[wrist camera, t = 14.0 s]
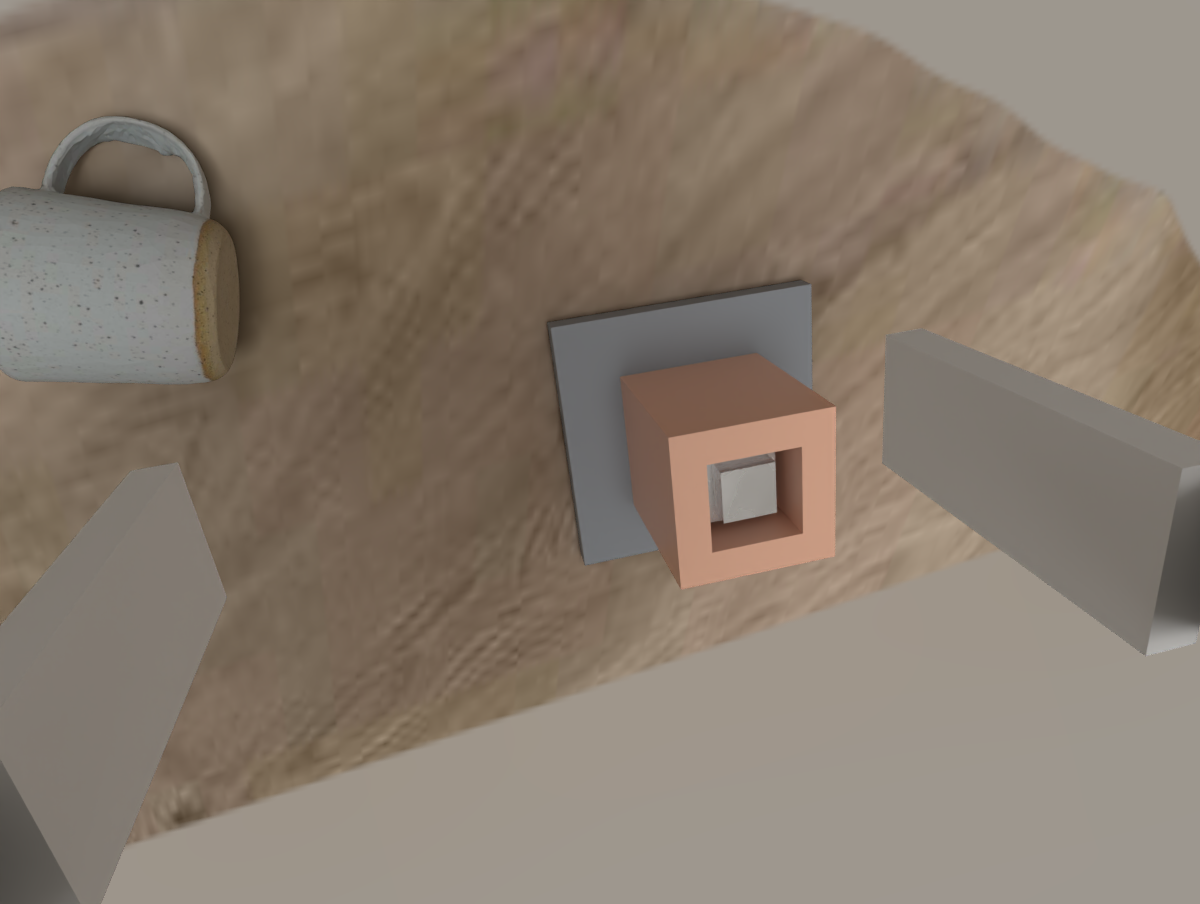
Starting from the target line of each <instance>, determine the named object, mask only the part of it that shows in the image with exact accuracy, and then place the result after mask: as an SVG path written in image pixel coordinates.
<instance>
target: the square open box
mask: <svg viewBox="0 0 1200 904" xmlns="http://www.w3.org/2000/svg"><path fill="white" fill-rule="evenodd" d="M620 382H621V391H622V400H623V410H624V419H625V428H626V438H627V447H628V456H629V465H630V475H631V484H632V493H633V503H634V506H635V508H636V510H637V512H638V513H639V515H640V517H641V519H642V521H643V522H644V524H645V526H646V528H647V529H648V531H649V533H650V535H651V537H652V538H653V540H654V542H655V544H656V546H657V547H658V549H659V551H660V553H661V554H662V556H663V558H664V560H665V562H666V563H667V565H668V567H669V569H670V571H671V572H672V574H673V576H674V578H675V579H676V581H677V583H678V585H679V587H680V588H681V590H682V589H686V588H691V587H695V586H700V585H705V584H709V583H714V582H719V581H723V580H728V579H732V578H737V577H742V576H746V575H751V574H755V573H760V572H765V571H769V570H774V569H778V568H783V567H788V566H792V565H797V564H802V563H806V562H811V561H815V560H820V559H825V558H829V557H834V556H835V486H836V406H835V405H833V404H832V403H830V402H829V401H827V400H826V399H824V398H823V397H821V396H820V395H818V394H817V393H815V392H814V391H813V390H811V389H810V388H808V387H807V386H805V385H804V384H802V383H801V382H799V381H798V380H796V379H795V378H793V377H792V376H790V375H789V374H787V373H786V372H784V371H783V370H782V369H780V368H779V367H777V366H776V365H774V364H773V363H771V362H770V361H768V360H767V359H765V358H764V357H762V356H761V355H759V354H758V353H753V354H747V355H742V356H736V357H730V358H724V359H719V360H713V361H707V362H702V363H696V364H690V365H684V366H679V367H673V368H667V369H661V370H656V371H650V372H644V373H639V374H633V375H627V376H621V377H620ZM772 452H775V467H776V499H777V513H772V514H767V515H763V516H758V517H753V518H748V519H744V520H739V521H734V522H729V523H725V524H724V523H723V522H722V521H721V520H720V521H715V522H710V508H709V492H708V477H707V465H710V464H715V463H721V462H726V461H731V460H736V459H741V458H746V457H752V456H757V455H762V454H767V453H772Z"/></svg>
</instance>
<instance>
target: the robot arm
mask: <svg viewBox="0 0 1200 904" xmlns="http://www.w3.org/2000/svg"><path fill="white" fill-rule="evenodd" d="M882 463H883V464H884V465H885V466H887V467H888V468H890V469H891V470H892V471H894V472H895V473H896V474H898V475H899V476H900V477H902V478H903V479H905V480H906V481H907V482H909V483H910V484H911V485H913V486H914V487H915V488H917V489H918V490H920V491H921V492H922V493H924V494H925V495H926V496H928V497H929V498H931V499H932V500H933V501H935V502H936V503H937V504H939V505H940V506H941V507H943V508H944V509H946V510H947V511H948V512H950V513H951V514H952V515H954V516H955V517H956V518H958V519H959V520H961V521H962V522H963V523H965V524H966V525H967V526H969V527H970V528H971V529H973V530H974V531H976V532H977V533H978V534H980V535H981V536H982V537H984V538H985V539H986V540H988V541H989V542H991V543H992V544H993V545H995V546H996V547H997V548H999V549H1000V550H1001V551H1003V552H1004V553H1006V554H1007V555H1008V556H1010V557H1011V558H1012V559H1014V560H1015V561H1017V562H1018V563H1019V564H1021V565H1022V566H1023V567H1025V568H1026V569H1027V570H1029V571H1030V572H1032V573H1033V574H1034V575H1036V576H1037V577H1038V578H1040V579H1041V580H1042V581H1044V582H1045V583H1047V584H1048V585H1049V586H1051V587H1052V588H1053V589H1055V590H1056V591H1057V592H1059V593H1060V594H1062V595H1063V596H1064V597H1066V598H1067V599H1068V600H1070V601H1071V602H1073V603H1074V604H1075V605H1077V606H1078V607H1079V608H1081V609H1082V610H1084V611H1085V612H1086V613H1088V614H1089V615H1090V616H1092V617H1093V618H1094V619H1096V620H1097V621H1099V622H1100V623H1101V624H1102V625H1104V626H1105V627H1107V628H1108V629H1109V630H1111V631H1112V632H1114V633H1115V634H1116V635H1118V636H1119V637H1120V638H1122V639H1123V640H1124V641H1126V642H1127V643H1129V644H1130V645H1131V646H1133V647H1134V648H1135V649H1137V650H1138V651H1140V652H1141V653H1142V654H1143V655H1145V656H1148V655H1152V654H1156V653H1160V652H1163V651H1168V650H1171V649H1175V648H1179V647H1183V646H1187V645H1191V644H1195V643H1196V640H1197V636H1198V631H1199V626H1200V441H1199V440H1196V439H1194V438H1191V437H1189V436H1186V435H1184V434H1181V433H1179V432H1176V431H1174V430H1171V429H1169V428H1167V427H1164V426H1162V425H1159V424H1157V423H1154V422H1152V421H1149V420H1147V419H1144V418H1142V417H1139V416H1137V415H1134V414H1132V413H1130V412H1127V411H1125V410H1122V409H1120V408H1117V407H1115V406H1112V405H1110V404H1107V403H1105V402H1102V401H1100V400H1097V399H1095V398H1093V397H1090V396H1088V395H1085V394H1083V393H1080V392H1078V391H1075V390H1073V389H1070V388H1068V387H1065V386H1063V385H1060V384H1058V383H1055V382H1053V381H1051V380H1048V379H1046V378H1043V377H1041V376H1038V375H1036V374H1033V373H1031V372H1028V371H1026V370H1023V369H1021V368H1018V367H1016V366H1014V365H1011V364H1009V363H1006V362H1004V361H1001V360H999V359H996V358H994V357H991V356H989V355H986V354H984V353H981V352H979V351H977V350H974V349H972V348H969V347H967V346H964V345H962V344H959V343H957V342H954V341H952V340H949V339H947V338H944V337H942V336H940V335H937V334H935V333H932V332H930V331H927V330H925V329H922V328H921V329H916V330H910V331H905V332H899V333H894V334H888V335H886V351H885V386H884V422H883V457H882ZM226 599H227V596H226V593H225V591H224V588H223V585H222V582H221V580H220V577H219V574H218V571H217V569H216V566H215V563H214V560H213V558H212V555H211V552H210V549H209V547H208V544H207V541H206V538H205V536H204V533H203V530H202V527H201V525H200V522H199V519H198V516H197V514H196V511H195V508H194V505H193V503H192V500H191V497H190V494H189V492H188V489H187V486H186V483H185V481H184V478H183V475H182V472H181V470H180V467H179V464H178V462H177V463H172V464H166V465H161V466H155V467H150V468H144V469H138V470H133V471H130V472H129V473H128V475H127V476H126V477H125V478H124V479H123V480H122V482H121V483H120V484H119V485H118V486H117V488H116V489H115V490H114V491H113V492H112V494H111V495H110V496H109V497H108V498H107V500H106V501H105V502H104V503H103V504H102V505H101V507H100V508H99V509H98V510H97V511H96V513H95V514H94V515H93V516H92V517H91V519H90V520H89V521H88V522H87V523H86V524H85V526H84V527H83V528H82V529H81V530H80V532H79V533H78V534H77V535H76V536H75V538H74V539H73V540H72V541H71V542H70V544H69V545H68V546H67V547H66V548H65V549H64V551H63V552H62V553H61V554H60V555H59V557H58V558H57V559H56V560H55V561H54V563H53V564H52V565H51V566H50V567H49V568H48V570H47V571H46V572H45V573H44V574H43V576H42V577H41V578H40V579H39V580H38V582H37V583H36V584H35V585H34V586H33V587H32V589H31V590H30V591H29V592H28V593H27V595H26V596H25V597H24V598H23V599H22V601H21V602H20V603H19V604H18V605H17V607H16V608H15V609H14V610H13V611H12V612H11V614H10V615H9V616H8V617H7V618H6V620H5V621H4V622H3V623H2V624H1V626H0V904H101V902H102V900H103V898H104V895H105V893H106V890H107V888H108V885H109V883H110V881H111V878H112V876H113V873H114V871H115V868H116V866H117V863H118V861H119V859H120V856H121V853H122V851H123V849H124V847H125V844H126V842H127V839H128V837H129V834H130V832H131V829H132V827H133V825H134V822H135V820H136V817H137V815H138V812H139V810H140V808H141V805H142V803H143V800H144V798H145V795H146V793H147V791H148V788H149V786H150V783H151V781H152V778H153V776H154V774H155V771H156V769H157V766H158V764H159V761H160V759H161V757H162V754H163V752H164V749H165V747H166V744H167V742H168V740H169V737H170V735H171V732H172V730H173V727H174V725H175V723H176V720H177V718H178V715H179V713H180V710H181V708H182V706H183V703H184V701H185V698H186V696H187V693H188V691H189V689H190V686H191V684H192V681H193V679H194V676H195V674H196V672H197V669H198V667H199V664H200V662H201V659H202V657H203V655H204V652H205V650H206V647H207V645H208V642H209V640H210V637H211V635H212V633H213V630H214V628H215V625H216V623H217V620H218V618H219V616H220V613H221V611H222V608H223V606H224V603H225V601H226Z"/></svg>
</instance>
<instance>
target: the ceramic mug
mask: <svg viewBox="0 0 1200 904" xmlns="http://www.w3.org/2000/svg"><path fill="white" fill-rule="evenodd" d="M113 140H118V141H122V142H127V143H132V144H136V145H142V146H146V147H149V148H152V149H155V150H158V151H159V152H160V153H161V154H162V155H173V154H174V155H176V156H179V157H180V158H182V159H183V160H184V161H185V163H186V165H187V166H188V168H189V170H190V172H191V173H192V175H193V183H194V190H195V209H194V212H191V213H189V212H185V211H180V210H174V209H167V208H159V207H150V206H141V205H132V204H125V203H119V202H113V201H107V200H101V199H95V198H89V197H83V196H75V195H68V194H63V193H64V191H65V186H66V183H67V180H68V178H69V176H70V173H71V171H72V169H73V168H74V166H75V165H76V163H77V161H78V160H79V158H80V157H81V156H82V155H83V154H84V153H85V152H86V151H87V150H89V148H90V147H92V146H94V145H96V144H97V143H100V142H104V141H113ZM210 209H211V200H210V195H209V190H208V185H207V181H206V178H205V175H204V173H203V171H202V169H201V166H200V164H199V162H198V161H197V159H196V157H195V156H194V154H193V153H192V152H191V151H190V149H189V148H188V147H187V146H186V145H185V144H184V143H183V142H182V141H181V140H180V139H178V138H177V137H176V136H175V135H173V134H172V133H171V132H169V131H168V130H166V129H163V128H161V127H159V126H158V125H155V124H153V123H150V122H146V121H143V120H138V119H134V118H129V117H119V116H106V117H100V118H96V119H92V120H90V121H88V122H86V123H84V124H82V125H81V126H79V127H78V128H76V129H75V130H73V131H72V132H70V133H69V134H68V135H67V136H66V137H65V139H64V140H62V141H61V143H60V144H59V146H58V147H57V149H56V150H55V152H54V153H53V155H52V157H51V159H50V161H49V164H48V166H47V168H46V171H45V176H44V178H43V181H42V187H41V188H40V189H30V188H23V187H9V188H6V189H4V190H1V191H0V369H1V370H2V371H3V372H4V373H5V374H6V375H8V376H9V377H11V378H14V379H16V380H19V381H34V382H92V383H147V384H193V383H202V382H209V381H213V380H217V379H219V378H220V377H222V376H223V375H224V374H225V373H226V372H227V371H228V370H229V369H230V367H231V365H232V363H233V360H234V356H235V352H236V346H237V338H238V327H239V307H240V300H239V276H238V265H237V257H236V252H235V248H234V244H233V240H232V238H231V237H230V235H229V233H228V231H227V230H226V229H225V228H224V227H223V226H222V225H221V224H220V223H218V222H216V221H215V220H212V219H209V218H210Z"/></svg>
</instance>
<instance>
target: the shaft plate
mask: <svg viewBox="0 0 1200 904" xmlns="http://www.w3.org/2000/svg"><path fill="white" fill-rule="evenodd" d="M547 324H548V331H549V338H550V345H551V352H552V358H553V365H554V372H555V379H556V386H557V393H558V399H559V406H560V413H561V420H562V427H563V433H564V440H565V447H566V454H567V461H568V468H569V474H570V481H571V488H572V495H573V502H574V508H575V515H576V522H577V529H578V536H579V543H580V549H581V556H582V558H583V561H584V564H585V565H590V564H594V563H599V562H604V561H609V560H613V559H618V558H623V557H627V556H632V555H637V554H642V553H646V552H651V551H656V550H659V549H658V547H657V546H656V544H655V542H654V540H653V538H652V537H651V535H650V533H649V531H648V529H647V528H646V526H645V524H644V522H643V521H642V519H641V517H640V515H639V513H638V512H637V510H636V508H635V506H634V503H633V493H632V484H631V475H630V465H629V456H628V447H627V438H626V428H625V419H624V410H623V400H622V391H621V382H620V377H621V376H627V375H633V374H639V373H644V372H650V371H656V370H661V369H667V368H673V367H679V366H684V365H690V364H696V363H702V362H707V361H713V360H719V359H724V358H730V357H736V356H742V355H747V354H753V353H758V354H759V355H761V356H762V357H764V358H765V359H767V360H768V361H770V362H771V363H773V364H774V365H776V366H777V367H779V368H780V369H782V370H783V371H784V372H786V373H787V374H789V375H790V376H792V377H793V378H795V379H796V380H798V381H799V382H801V383H802V384H804V385H805V386H807V387H808V388H810V389H811V390H812V313H811V284H810V283H807V282H805V281H802V280H799V281H793V282H787V283H781V284H775V285H769V286H763V287H757V288H751V289H745V290H739V291H733V292H727V293H721V294H715V295H709V296H703V297H697V298H691V299H685V300H679V301H673V302H667V303H661V304H655V305H649V306H643V307H637V308H631V309H625V310H619V311H613V312H607V313H601V314H595V315H589V316H583V317H577V318H571V319H565V320H559V321H553V322H547Z"/></svg>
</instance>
